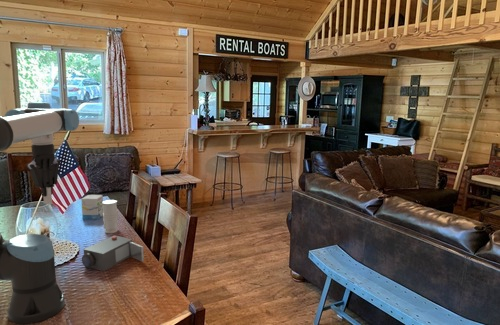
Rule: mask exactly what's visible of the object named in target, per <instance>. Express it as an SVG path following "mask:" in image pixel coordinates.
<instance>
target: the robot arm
mask: <svg viewBox="0 0 500 325" xmlns="http://www.w3.org/2000/svg"><path fill="white" fill-rule="evenodd" d="M79 125H80V117H79V114H78V112H77V111H76V110H74V109H70V108H52V107H51V104H50V103H49V102H45V101H44V102H42V101H40V102H39V101H37V102H36V101H35V102H28V103H27V107H26V108H25V107H24V108H22V107H21V108H19V107H18V108H13V109H9V110H7V111H6V112H5V114H4V117H2V116H0V152H4V151H6V150H8V149H9V148H10V147H11V146H12V145H13V144H17V143H22V142H25V141H28V140H30V144H31V147H30V148H31V154H32V160H31V162H29V163H26V167H27V168H28V170H29V172H30V175H31V178H32V181H33V183H34V186H35V188H40V193H41V197H43V204H44V205H52V204H53V197H52V195H53V194H54V192H53V188H54V187H55V185H57V184H58V177H59V176H58V175H59V169H60V165H61V162H62V160H61V159H60V158H59V159H58V158H56V156H55V152H56V151H55V144H54V140H55V138H54V133H58V132H72V131H76V130H77V129H78V128H79ZM55 262H56V261H55V249H54V244H53V241H52V240H51V238H49V237H48V236H47V235H43V234H40V233H39V234H38V233H27V234H19V235H16V236H14V237H11V238H10V239H9V240H5V238H3V236H2V234H1V232H0V281H11V286H12V287H11V288H12V289H11V290H12V293H11V297H10V301H9V306H8V308H7V315H8V321H10V322H11V323H13V324H18V325H28V324H35V323H39V322H42V321H45V320H48V319H50V318H52V317H53V316H55V315H57V314H59V312H61V311H62V309H63V308H64V307H65V297H64V293H63V292H62V290H61V288H60V286H59V284H58V283H57V275H56V263H55Z"/></svg>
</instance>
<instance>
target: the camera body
mask: <svg viewBox="0 0 500 325" xmlns="http://www.w3.org/2000/svg"><path fill="white" fill-rule="evenodd" d="M130 241H132V242H133V239H132V238H129V237H128V238H127V237H124V236H118V235H113V236H109V237H108V238H105V239H103V240H101V241H99V242H97V243H95V244H92V245H90V246H88V247H86V248H84V249H83V255H82V256H81V263H82V264H83V266H84V268H89V269H90V268H92V269H95V270H99V271H102V272H105V271H107V270H109V269H110V268H112V267H114V266H115V265H118V264H120V263H121V262H123V261H125V260H127V259H129V258H131V257H130V255H129V242H130ZM133 243H134V242H133Z"/></svg>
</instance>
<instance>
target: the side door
mask: <svg viewBox="0 0 500 325" xmlns="http://www.w3.org/2000/svg"><path fill="white" fill-rule="evenodd" d="M132 241H133V240H132ZM132 241H130V242H129V255H130V257H129V258H133V259H135V260H138V261H139V262H141V263H142V262H144V260H145V259H144V246H143V245H140V244H138V243H136V242H132Z"/></svg>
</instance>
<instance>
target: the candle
mask: <svg viewBox="0 0 500 325" xmlns="http://www.w3.org/2000/svg"><path fill="white" fill-rule="evenodd" d="M117 203H118V200H115V199H106V200H103V202H102V204H103V216H102V219H103V220H102V221H103V229H104V230H105V231H104V232H105V233H106V234H113V233H117V232H118V229H117V228H119V222H118V221H119V211H118V209H117V208H118V207H117V205H118V204H117Z"/></svg>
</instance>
